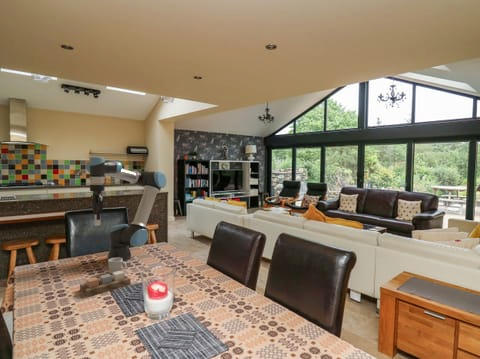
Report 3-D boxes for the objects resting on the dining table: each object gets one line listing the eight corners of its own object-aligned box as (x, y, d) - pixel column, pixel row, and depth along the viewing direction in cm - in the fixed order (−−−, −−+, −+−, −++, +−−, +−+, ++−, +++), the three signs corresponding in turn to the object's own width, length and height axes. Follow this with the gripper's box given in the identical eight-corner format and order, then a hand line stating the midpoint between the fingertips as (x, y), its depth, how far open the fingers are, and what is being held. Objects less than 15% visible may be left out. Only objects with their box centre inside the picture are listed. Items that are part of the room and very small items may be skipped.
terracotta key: (95, 285, 147) (95, 277, 147) (98, 288, 144) (98, 279, 144) (86, 288, 144) (86, 279, 144) (89, 290, 141) (89, 281, 141)
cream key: (120, 278, 157) (120, 270, 157) (124, 280, 154) (124, 272, 154) (112, 280, 154) (112, 272, 153) (115, 283, 151) (115, 274, 150)
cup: (129, 270, 173) (129, 257, 172) (122, 275, 165) (122, 262, 165) (112, 269, 174) (112, 257, 174) (105, 274, 166) (105, 261, 166)
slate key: (108, 282, 152) (108, 273, 152) (111, 284, 149) (111, 275, 149) (99, 284, 149) (99, 275, 149) (103, 286, 146) (103, 278, 146)
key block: (121, 278, 161) (121, 273, 160) (130, 284, 153) (130, 278, 153) (79, 290, 145) (79, 284, 145) (87, 297, 137) (87, 291, 137)
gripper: (86, 183, 164) (86, 224, 165) (94, 185, 155) (94, 228, 156) (99, 183, 169) (100, 222, 170) (108, 184, 160) (108, 226, 161)
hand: (97, 225), depth 163 cm, fingers closed
